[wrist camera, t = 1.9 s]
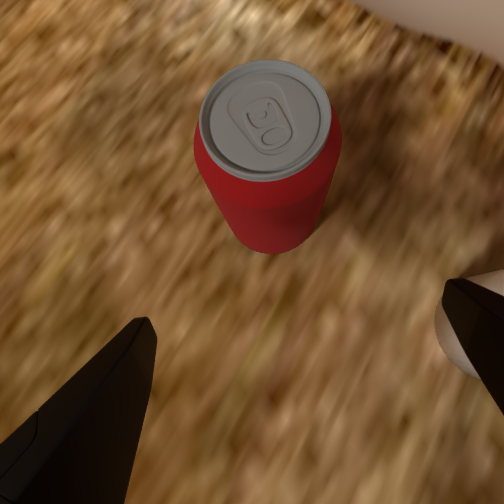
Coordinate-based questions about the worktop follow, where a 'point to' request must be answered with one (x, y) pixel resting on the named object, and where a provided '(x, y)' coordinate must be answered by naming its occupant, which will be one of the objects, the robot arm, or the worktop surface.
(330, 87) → the worktop surface
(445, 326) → the sugar jar
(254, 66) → the beverage can
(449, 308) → the robot arm
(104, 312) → the worktop surface
